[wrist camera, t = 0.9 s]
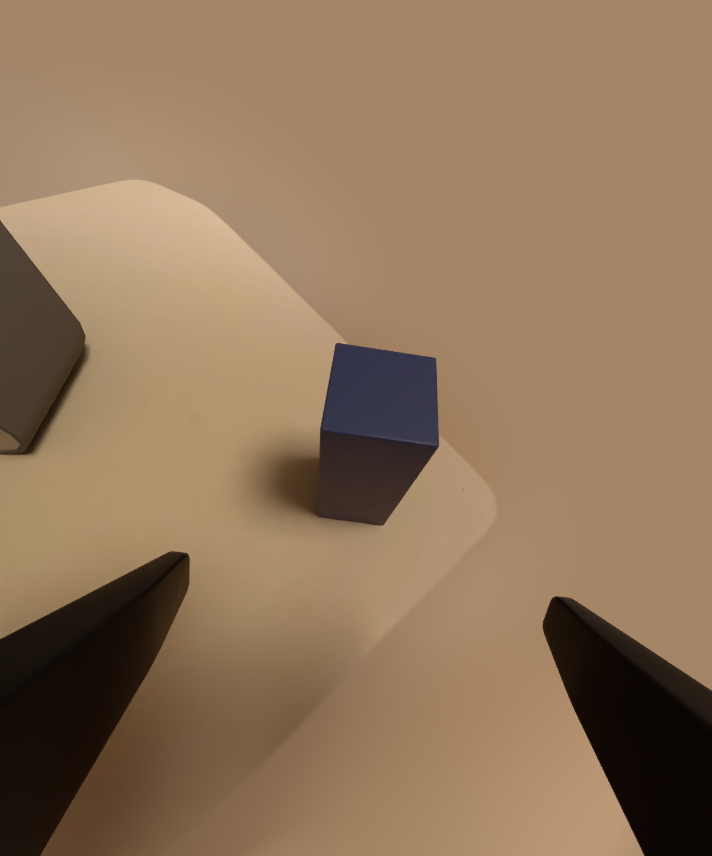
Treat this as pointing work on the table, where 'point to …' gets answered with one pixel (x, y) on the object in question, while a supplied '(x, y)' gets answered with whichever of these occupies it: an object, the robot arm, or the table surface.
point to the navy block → (375, 431)
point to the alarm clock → (30, 346)
